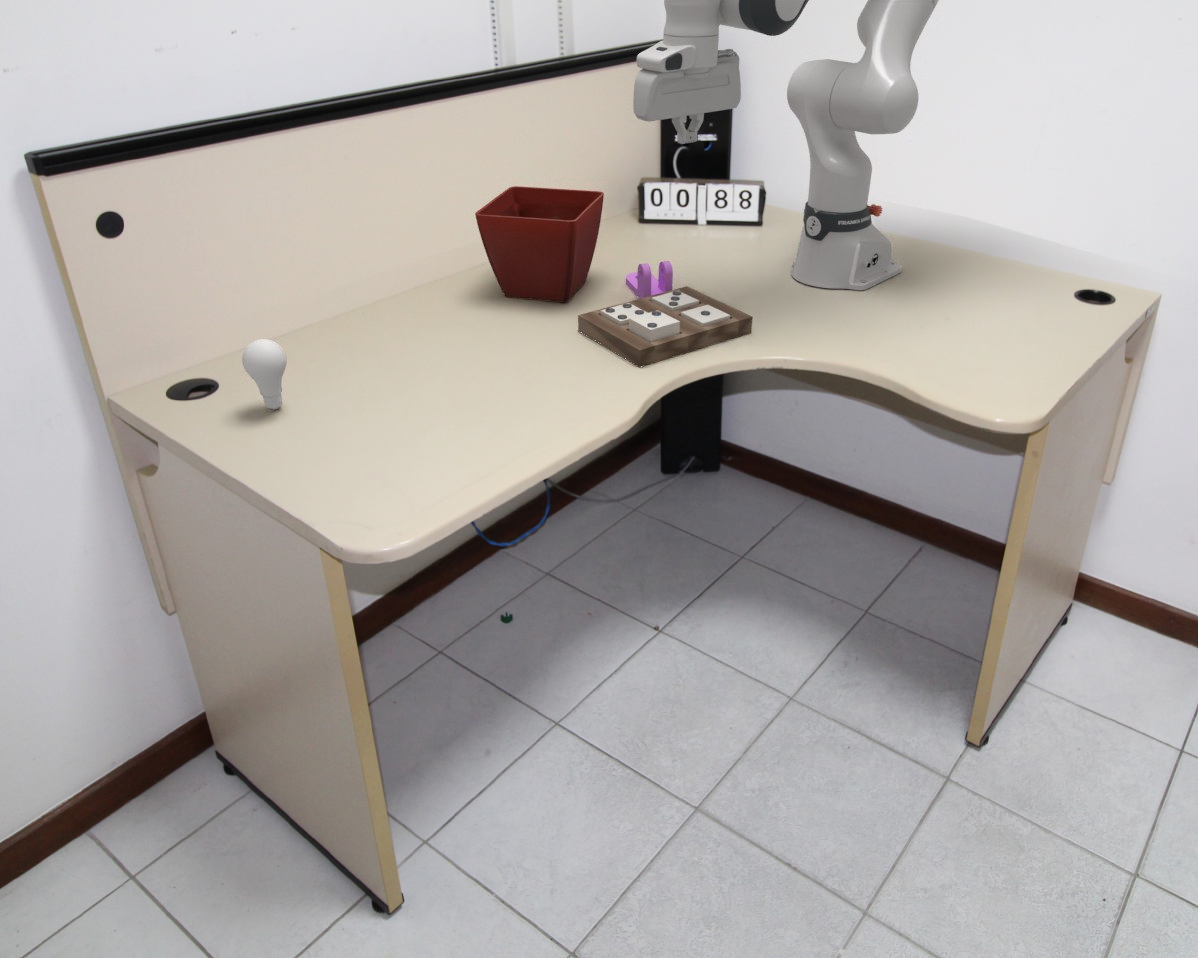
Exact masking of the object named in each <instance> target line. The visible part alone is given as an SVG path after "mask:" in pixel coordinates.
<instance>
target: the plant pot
mask: <svg viewBox="0 0 1198 958" xmlns="http://www.w3.org/2000/svg"><path fill="white" fill-rule="evenodd" d="M604 194H605V192H603V191H601V190H599V191H597V190H584V189H583V190H582V189H567V188H566V189H565V188H553V187H551V188H549V187H538V186H533V187H532V186H516V185H514V186H510V187H508V188H507V189H505V190H504V191H503V192H501V193H500V194H498V195H497V196H496V197H494V198H493V199H492V200H491V201H489V202H488V203H487V204H485V205H484V206H482V207H481V208H480V209H478V210H477V211H475V213H474V215H475V219H476V223H477V228H478V232H479V235H480V239H481V242H482V245H483V248H484V250H485V254H486V256H487V260H488V261H489V265H490V266H491V269H492V271H493V274H494V276H495V278H496V281H497V283H498V285H499V288H500V289H501V292H502V294H503V295H504V297H506V298H509V299H522V300H523V299H524V300H536V301H546V302H556V303H566V302H568V301H570V300H571V298H572V297H573V296H574V295H575V294H576V293H577V292H578V290H579V289H580V288H582V286H583V285H584V284H585V282H587V279H588V275H589V272H590V269H591V266H592V261H593V258H594V254H595V252H596V251H595V250H596V246H597V243H598V237H599V232H600V227H601V222H602V221H601V220H602V213H603V205H604V197H605V195H604Z"/></svg>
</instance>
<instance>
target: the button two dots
mask: <svg viewBox="0 0 1198 958" xmlns="http://www.w3.org/2000/svg"><path fill="white" fill-rule="evenodd" d="M629 331H630V332H632V333H633V334H635V335H637V336H639V337H641V338H642V339H644V340H646V341H648V342H650V343H651V342H654V341H657V340H661V339H664V338H668V337H671V336H674V335H678V334H680V321H678V320H676V319H674V318H672V317H670V316H668V315H666V314H664V313H662V312H660V311H658V310H657V311H653V312H650V313H646V314H643V315H639V316H635V317H632V318H629Z"/></svg>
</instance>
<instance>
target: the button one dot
mask: <svg viewBox="0 0 1198 958" xmlns="http://www.w3.org/2000/svg"><path fill="white" fill-rule="evenodd" d="M681 317H683V318H685V319H687V320H689V321H691V322H693V323H695V324H697V325H699V326H701V327H705V326H708V325H712V324H715V323H718V322H722V321H725V320H729V319H730V315H729V314H727V313H725V312H722V311H720V310H718V309H716V308H714V307H712V306H710V305H705V306H701V307H697V308H694V309H690V310H687V311H683V312H681Z"/></svg>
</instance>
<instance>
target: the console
mask: <svg viewBox="0 0 1198 958" xmlns="http://www.w3.org/2000/svg"><path fill="white" fill-rule="evenodd" d="M675 291H680V292H682V293H684V294H686V295H688V296H691V297H693V298H695V299H697V300H699V304H698V305H694V306H690V307H687V308H683V309H680V310H676V311H673V312H671V311H669V310H667V309H665V308H663V307H661V306H659V305H657V304H655V303H653V302H651V299H652V297H656V296H660V295H663V294H667V293H671V292H675ZM627 303H630V304H632V305H634V306H636V307H638V308H640V309H642V310H644V311H645V312H647V313H650V312H653V311H657V310H658V311H660V312H662V313H664V314H666V315H668V316H670V317H672V318H674V319H676V320H678V321H680V334H678V335H674V336H671V337H668V338H664V339H661V340H657V341H654V342H651V343H650V342H648V341H646V340H644V339H642V338H641V337H639V336H637V335H635V334H633V333H632V332H630V331H629V324H626V325H623V326H619V325H617V324H615V323H613V322H612V321H610V320H608V319H606V318H604V317H603V316H601V310H604V309H608V308H612V307H615V306H619V305H623V304H627ZM705 305H710V306H712V307H714V308H716V309H718V310H720V311H722V312H725V313H727V314H729V315H730V319H729V320H725V321H722V322H718V323H715V324H712V325H708V326H705V327H701V326H699V325H697V324H695V323H693V322H691V321H689V320H687V319H685V318H683V317H681V312H683V311H687V310H690V309H694V308H697V307H701V306H705ZM753 319H754V318H753V315H750V314H749V313H746V312H744V311H741V310H740V309H737V308H735V307H732V306H731V305H728V304H726V303H724V302H722V301H720V300H718V299H715V298H714V297H711V296H709V295H707V294H705V293H702V292H700V291H698V290H695V289H694V288H692V287H689V286H687V285H686V286H682V287H680V288H679V287H678V288H676V289H675V288H674V289H672V290H671V291H667V292H663V293H659V294H656V295H652V296H648V297H644V298H641V299H639V298H638V299H634V300H631V301H626V302H622V303H620V304H619V303H618V304H614V305H611V306H608V307H603V308H600V309H597V310H592V311H589V312H585V313H581V314H577V323H578V325H577V328H578V330H577V331H578V332H579V331H580V332H582V333H583V334H582V333H581V334H582V335H584V334H585V335H587V336H589V337H590V338H589V337H588V338H589V339H591V338H592V339H594V340H596V341H597V342H599V343H601V344H602V345H604V346H606V347H607V348H606V347H605V348H606V349H608V348H609V349H610V350H609V349H608V350H609V351H611V350H612V351H611V352H613V351H614V352H616V353H617V354H616V353H615V354H616V355H618V354H619V355H620V357H621V356H622V357H621V358H623V357H624V358H623V359H625V358H626V359H627V361H628V360H629V361H628V362H630V363H631V362H632V363H631V364H633V363H634V364H633V365H635V366H636V365H637V366H636V367H638V368H642V367H645V366H648V365H652V364H655V363H658V362H662V361H665V360H667V358H668V359H671V358H674V356H675V357H677V356H680V355H685V354H687V352H688V353H690V352H694V351H696V350H700V349H703V348H704V349H705V348H707V347H710V346H713V345H716V344H719V343H723V342H726V341H729V340H732V339H735V338H739V337H742V336H745V335H749V334H752V330H753ZM580 332H579V333H580ZM585 335H584V336H585ZM587 336H586V337H587ZM592 339H591V340H592ZM594 340H593V341H594ZM596 341H595V342H596ZM597 342H596V343H597ZM599 343H598V344H599ZM601 344H600V345H601ZM602 345H601V346H602ZM604 346H603V347H604ZM614 352H613V353H614ZM619 355H618V356H619ZM626 359H625V360H626ZM664 359H665V360H664ZM661 360H662V361H661ZM651 363H652V364H651ZM641 366H642V367H641Z"/></svg>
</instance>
